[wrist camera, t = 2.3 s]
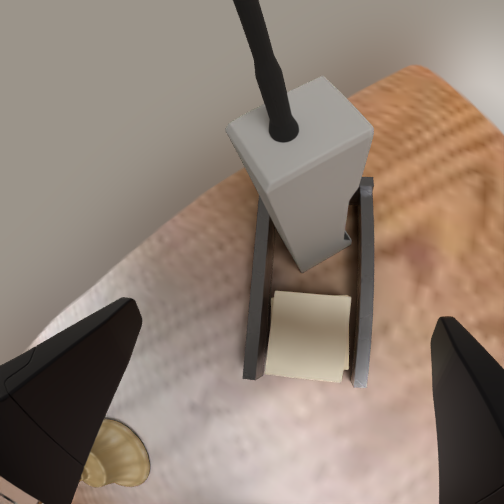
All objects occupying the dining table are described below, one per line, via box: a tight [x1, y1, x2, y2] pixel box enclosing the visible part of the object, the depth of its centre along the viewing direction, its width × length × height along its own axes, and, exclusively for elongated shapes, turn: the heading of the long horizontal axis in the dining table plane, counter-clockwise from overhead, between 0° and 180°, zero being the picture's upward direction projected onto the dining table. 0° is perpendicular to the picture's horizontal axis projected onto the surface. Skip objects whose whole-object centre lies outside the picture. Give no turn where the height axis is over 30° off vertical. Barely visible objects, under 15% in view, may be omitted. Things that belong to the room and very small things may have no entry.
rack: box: [243, 177, 374, 388], centre depth 25 cm, size 16×9×4 cm, turn 175°
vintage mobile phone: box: [226, 0, 374, 273], centre depth 16 cm, size 4×5×25 cm
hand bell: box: [38, 419, 150, 504], centre depth 19 cm, size 8×8×16 cm
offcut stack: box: [265, 291, 351, 383], centre depth 23 cm, size 6×6×5 cm
